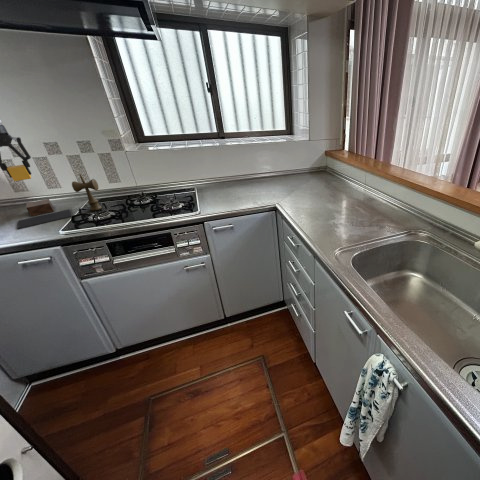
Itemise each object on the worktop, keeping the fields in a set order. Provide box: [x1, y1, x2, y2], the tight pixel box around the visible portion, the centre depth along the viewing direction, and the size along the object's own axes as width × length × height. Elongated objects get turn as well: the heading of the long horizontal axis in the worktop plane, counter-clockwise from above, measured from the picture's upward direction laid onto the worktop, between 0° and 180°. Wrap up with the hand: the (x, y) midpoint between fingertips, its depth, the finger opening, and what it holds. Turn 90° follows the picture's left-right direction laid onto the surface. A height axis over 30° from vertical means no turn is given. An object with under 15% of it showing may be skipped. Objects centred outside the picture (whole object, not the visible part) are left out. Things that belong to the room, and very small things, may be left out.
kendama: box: [71, 173, 103, 212], centre depth 141 cm, size 6×10×20 cm, turn 113°
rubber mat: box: [17, 209, 72, 230], centre depth 136 cm, size 20×12×1 cm, turn 133°
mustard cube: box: [7, 164, 32, 182], centre depth 131 cm, size 6×6×6 cm
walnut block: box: [25, 198, 55, 218], centre depth 144 cm, size 9×9×5 cm
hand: (21, 175), depth 132 cm, fingers closed on mustard cube, 6 cm apart
